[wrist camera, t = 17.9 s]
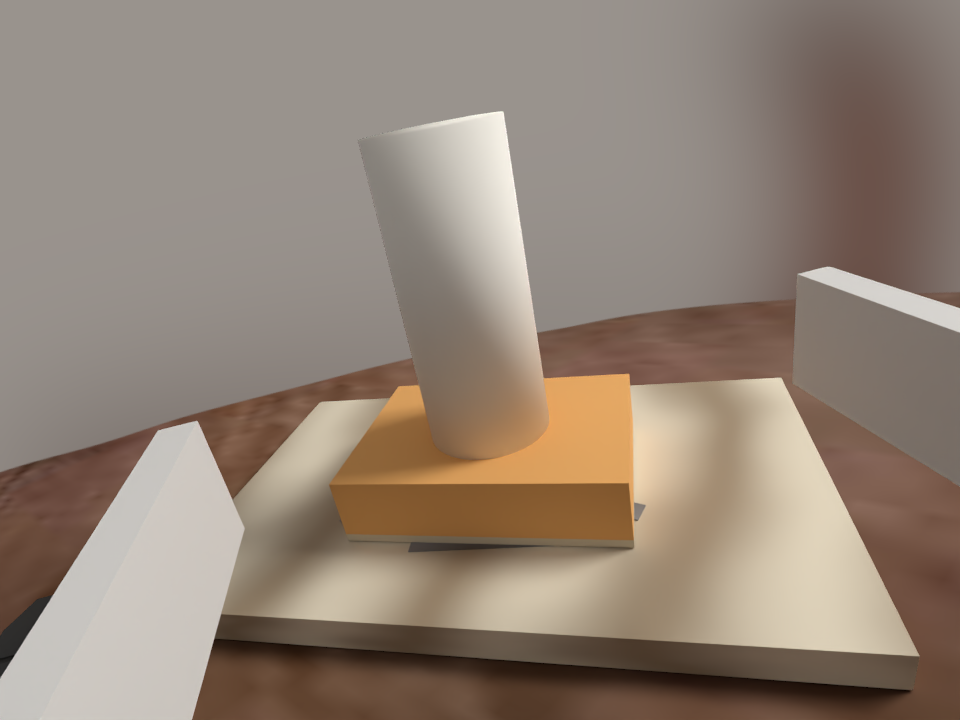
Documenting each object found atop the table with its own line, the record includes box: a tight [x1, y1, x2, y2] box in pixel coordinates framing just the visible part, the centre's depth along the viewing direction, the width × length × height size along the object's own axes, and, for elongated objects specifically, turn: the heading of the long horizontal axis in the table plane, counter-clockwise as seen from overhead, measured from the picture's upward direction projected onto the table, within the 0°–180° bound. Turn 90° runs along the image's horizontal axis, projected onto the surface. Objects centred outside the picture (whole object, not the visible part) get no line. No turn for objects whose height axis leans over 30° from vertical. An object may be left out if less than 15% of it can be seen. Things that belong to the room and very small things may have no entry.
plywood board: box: [214, 378, 919, 690], centre depth 23 cm, size 23×14×1 cm, turn 77°
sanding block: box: [329, 111, 635, 548], centre depth 20 cm, size 10×7×13 cm
